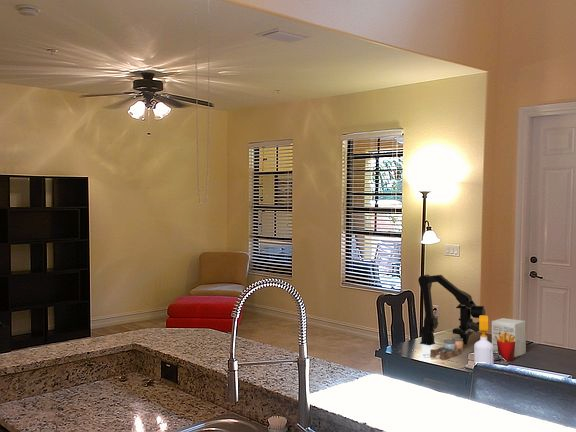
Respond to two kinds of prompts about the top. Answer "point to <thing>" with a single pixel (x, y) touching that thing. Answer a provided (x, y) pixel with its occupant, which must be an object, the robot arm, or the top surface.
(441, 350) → the pusher
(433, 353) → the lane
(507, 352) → the french fries
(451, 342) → the slate jar
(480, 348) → the soap bottle
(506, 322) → the supplement box
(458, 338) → the terracotta jar
